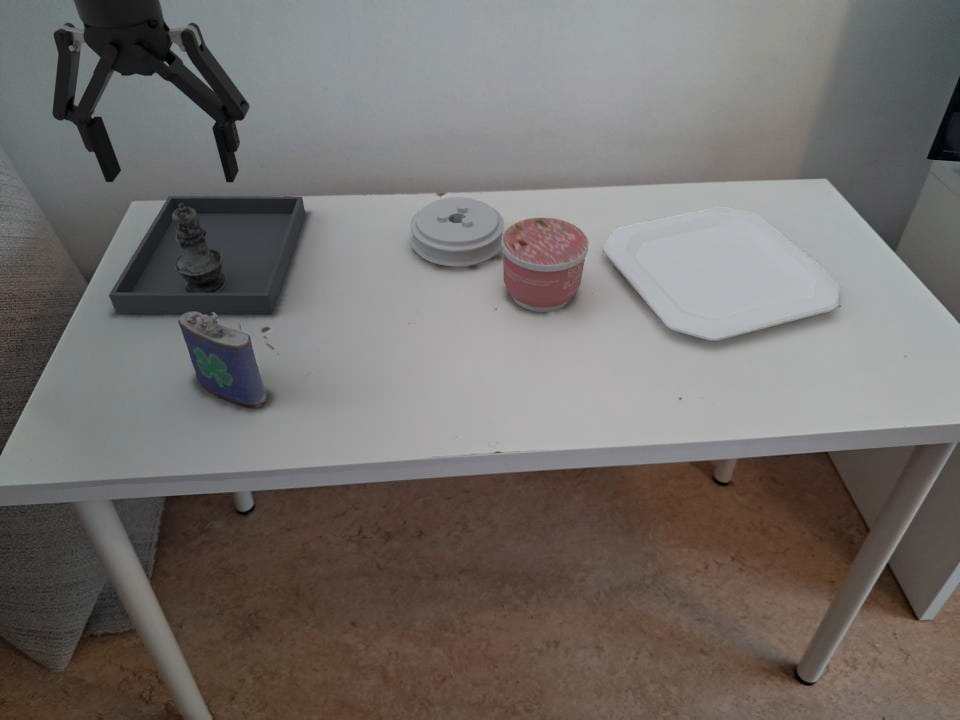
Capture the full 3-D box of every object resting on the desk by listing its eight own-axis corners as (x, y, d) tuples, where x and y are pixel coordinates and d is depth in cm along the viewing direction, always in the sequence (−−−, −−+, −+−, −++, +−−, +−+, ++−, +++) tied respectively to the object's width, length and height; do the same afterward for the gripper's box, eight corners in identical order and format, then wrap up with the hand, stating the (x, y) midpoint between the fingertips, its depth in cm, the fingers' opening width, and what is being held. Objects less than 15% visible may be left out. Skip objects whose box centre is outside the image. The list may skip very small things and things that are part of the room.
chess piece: (173, 295, 92) (144, 212, 84) (194, 268, 96) (168, 187, 88) (217, 300, 91) (192, 217, 83) (236, 273, 95) (214, 191, 87)
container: (561, 262, 98) (565, 210, 93) (596, 308, 91) (604, 255, 85) (488, 278, 95) (488, 226, 90) (518, 327, 88) (521, 273, 83)
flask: (272, 397, 79) (251, 321, 72) (253, 414, 77) (230, 338, 70) (209, 368, 83) (183, 293, 75) (190, 384, 81) (161, 309, 73)
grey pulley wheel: (393, 242, 101) (390, 211, 98) (463, 211, 107) (462, 180, 104) (451, 284, 94) (450, 251, 91) (522, 248, 100) (523, 216, 97)
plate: (856, 313, 90) (863, 299, 89) (683, 359, 84) (686, 345, 82) (739, 213, 107) (743, 200, 106) (587, 245, 101) (589, 231, 100)
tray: (272, 314, 90) (267, 295, 88) (116, 313, 90) (108, 295, 88) (305, 213, 107) (302, 196, 105) (174, 213, 107) (168, 195, 105)
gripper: (250, -38, 72) (288, 160, 86) (-5, -38, 72) (77, 160, 86) (231, -14, 66) (275, 193, 81) (-45, -15, 66) (49, 193, 81)
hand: (173, 176), depth 83 cm, fingers open, 13 cm apart
